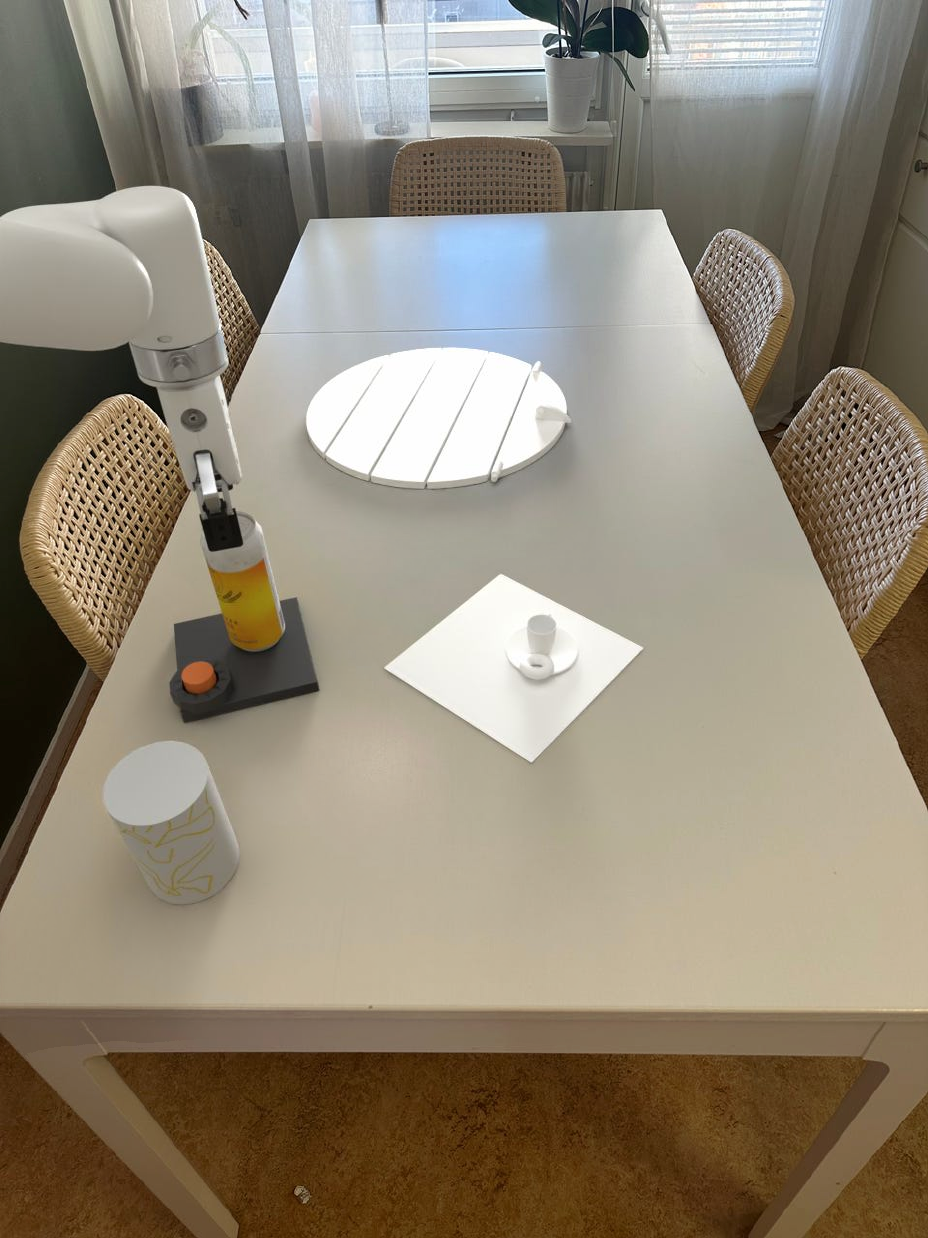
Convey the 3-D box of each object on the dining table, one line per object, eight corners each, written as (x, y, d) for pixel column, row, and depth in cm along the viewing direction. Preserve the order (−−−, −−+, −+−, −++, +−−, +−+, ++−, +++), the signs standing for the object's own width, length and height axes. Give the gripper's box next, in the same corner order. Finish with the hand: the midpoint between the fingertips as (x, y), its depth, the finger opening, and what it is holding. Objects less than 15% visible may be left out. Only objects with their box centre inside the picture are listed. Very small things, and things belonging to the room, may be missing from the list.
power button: (186, 697, 88) (182, 687, 86) (184, 675, 90) (180, 665, 89) (217, 690, 88) (214, 679, 87) (215, 668, 90) (211, 658, 89)
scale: (179, 728, 88) (171, 709, 86) (171, 633, 98) (164, 614, 96) (320, 694, 91) (315, 675, 89) (299, 605, 101) (294, 586, 99)
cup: (146, 915, 73) (101, 837, 65) (146, 835, 79) (104, 754, 71) (243, 890, 75) (211, 810, 66) (235, 813, 80) (205, 731, 72)
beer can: (227, 623, 97) (194, 515, 87) (281, 611, 98) (255, 503, 88) (234, 660, 93) (200, 551, 83) (290, 647, 94) (264, 538, 84)
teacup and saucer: (544, 694, 90) (545, 667, 87) (485, 659, 94) (484, 632, 91) (592, 647, 94) (595, 620, 92) (534, 616, 98) (535, 589, 95)
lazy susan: (589, 365, 141) (590, 345, 139) (546, 505, 114) (547, 483, 111) (357, 345, 149) (355, 326, 147) (265, 471, 122) (260, 450, 119)
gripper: (235, 391, 67) (272, 564, 79) (216, 305, 79) (250, 465, 91) (135, 407, 66) (187, 580, 77) (131, 316, 78) (177, 478, 90)
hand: (221, 518), depth 84 cm, fingers open, 9 cm apart
